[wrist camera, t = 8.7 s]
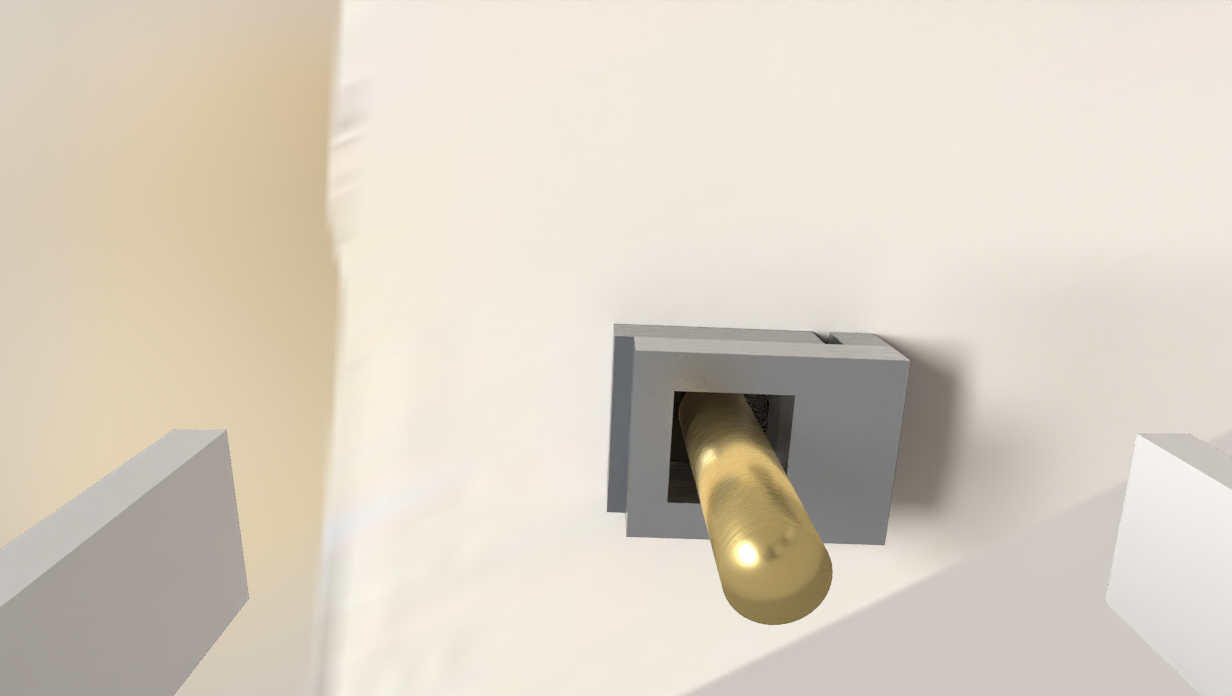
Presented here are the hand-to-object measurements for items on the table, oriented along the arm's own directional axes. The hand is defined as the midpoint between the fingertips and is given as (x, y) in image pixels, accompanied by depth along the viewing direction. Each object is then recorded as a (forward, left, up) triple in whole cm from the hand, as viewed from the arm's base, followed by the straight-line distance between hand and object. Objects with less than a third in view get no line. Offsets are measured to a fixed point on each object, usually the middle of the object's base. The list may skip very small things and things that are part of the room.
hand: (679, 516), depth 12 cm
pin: (-4, +7, -24) cm, 25 cm away
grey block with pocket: (-4, +7, -24) cm, 25 cm away
